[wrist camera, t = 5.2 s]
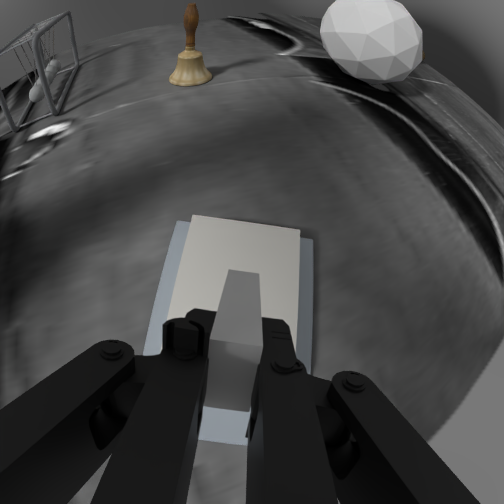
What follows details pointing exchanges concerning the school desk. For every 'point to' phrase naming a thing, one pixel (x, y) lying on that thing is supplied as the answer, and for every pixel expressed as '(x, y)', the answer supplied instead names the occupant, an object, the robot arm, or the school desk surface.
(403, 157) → the school desk surface
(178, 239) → the mat
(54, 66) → the newton's cradle
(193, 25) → the hand bell
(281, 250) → the tile
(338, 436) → the robot arm
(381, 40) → the geometric polyhedron
